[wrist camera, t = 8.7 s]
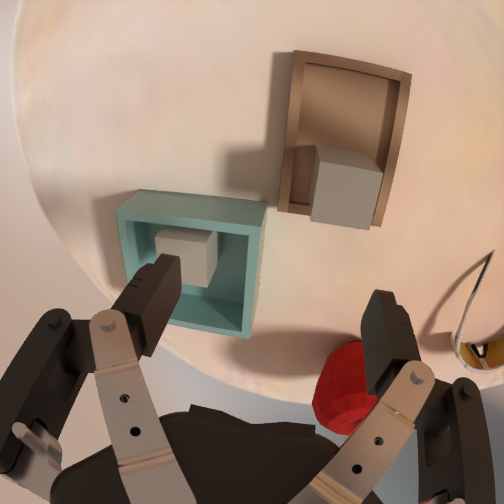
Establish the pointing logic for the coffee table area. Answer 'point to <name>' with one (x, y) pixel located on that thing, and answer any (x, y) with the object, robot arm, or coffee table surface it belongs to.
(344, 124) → the tray
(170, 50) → the coffee table surface
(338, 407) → the apple
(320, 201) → the block
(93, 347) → the robot arm
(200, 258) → the matte taupe cube
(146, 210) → the teal open box
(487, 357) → the sunglasses
